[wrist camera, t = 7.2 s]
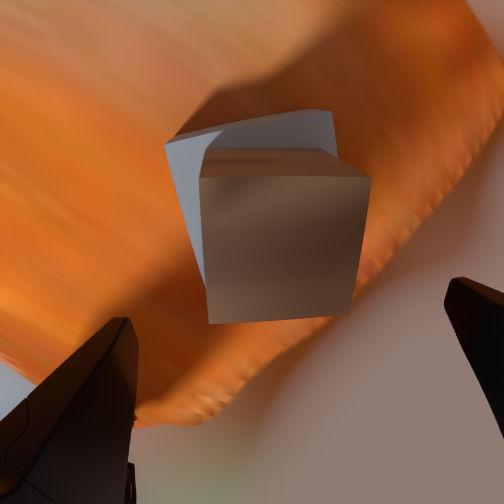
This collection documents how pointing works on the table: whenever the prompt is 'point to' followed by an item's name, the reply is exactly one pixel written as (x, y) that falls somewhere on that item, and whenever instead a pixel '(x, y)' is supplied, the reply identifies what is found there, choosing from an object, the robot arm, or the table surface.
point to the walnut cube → (280, 233)
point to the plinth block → (240, 136)
